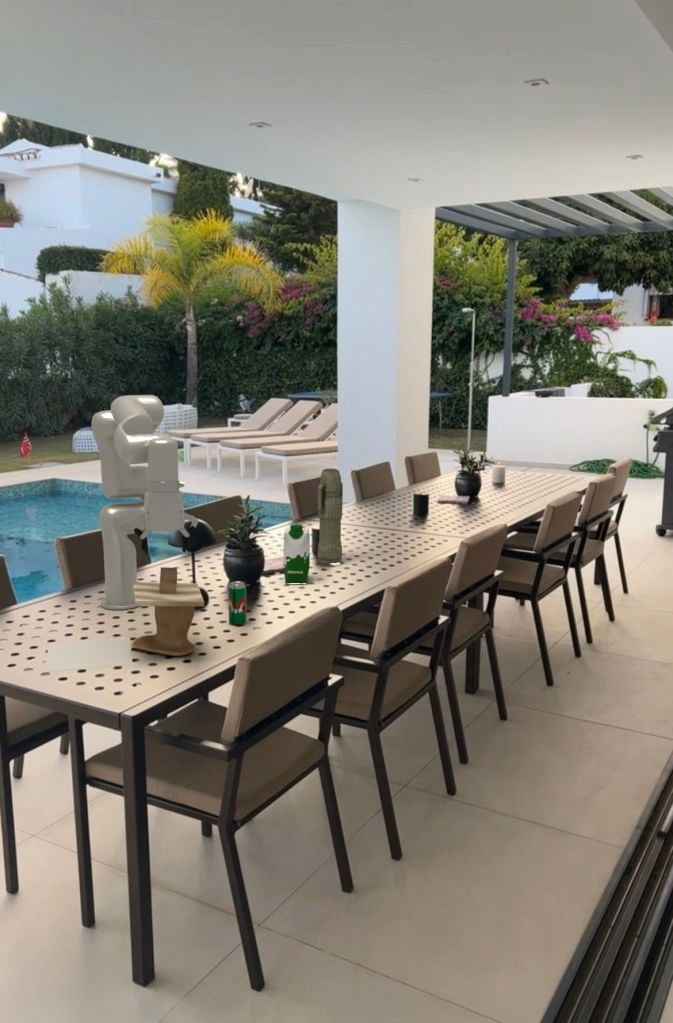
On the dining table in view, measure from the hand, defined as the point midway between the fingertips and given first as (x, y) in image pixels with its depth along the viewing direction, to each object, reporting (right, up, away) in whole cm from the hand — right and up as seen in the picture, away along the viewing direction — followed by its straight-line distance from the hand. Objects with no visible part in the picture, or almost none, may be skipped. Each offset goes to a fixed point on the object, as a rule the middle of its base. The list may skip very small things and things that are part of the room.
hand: (165, 552), depth 221 cm
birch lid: (0, -12, +2) cm, 12 cm away
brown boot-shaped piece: (0, -26, +5) cm, 27 cm away
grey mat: (-20, -27, +1) cm, 33 cm away
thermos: (+42, -9, +95) cm, 104 cm away
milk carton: (+31, -14, +71) cm, 78 cm away
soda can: (+16, -22, +27) cm, 38 cm away
